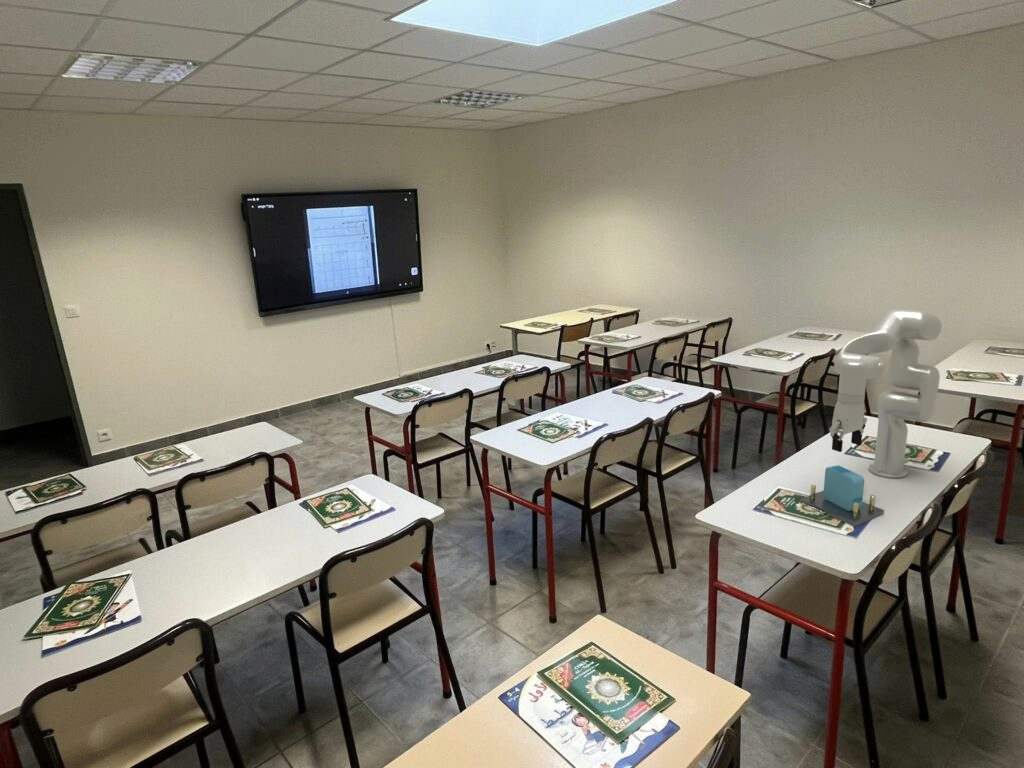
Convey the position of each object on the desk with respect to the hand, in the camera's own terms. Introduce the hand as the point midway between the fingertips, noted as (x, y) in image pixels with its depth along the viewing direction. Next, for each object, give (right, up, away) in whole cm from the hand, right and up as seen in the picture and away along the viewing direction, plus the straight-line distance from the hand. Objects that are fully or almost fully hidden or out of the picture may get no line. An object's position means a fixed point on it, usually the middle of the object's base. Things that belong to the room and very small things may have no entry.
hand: (846, 447), depth 201 cm
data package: (+1, -20, +6) cm, 21 cm away
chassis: (+1, -21, +6) cm, 22 cm away
